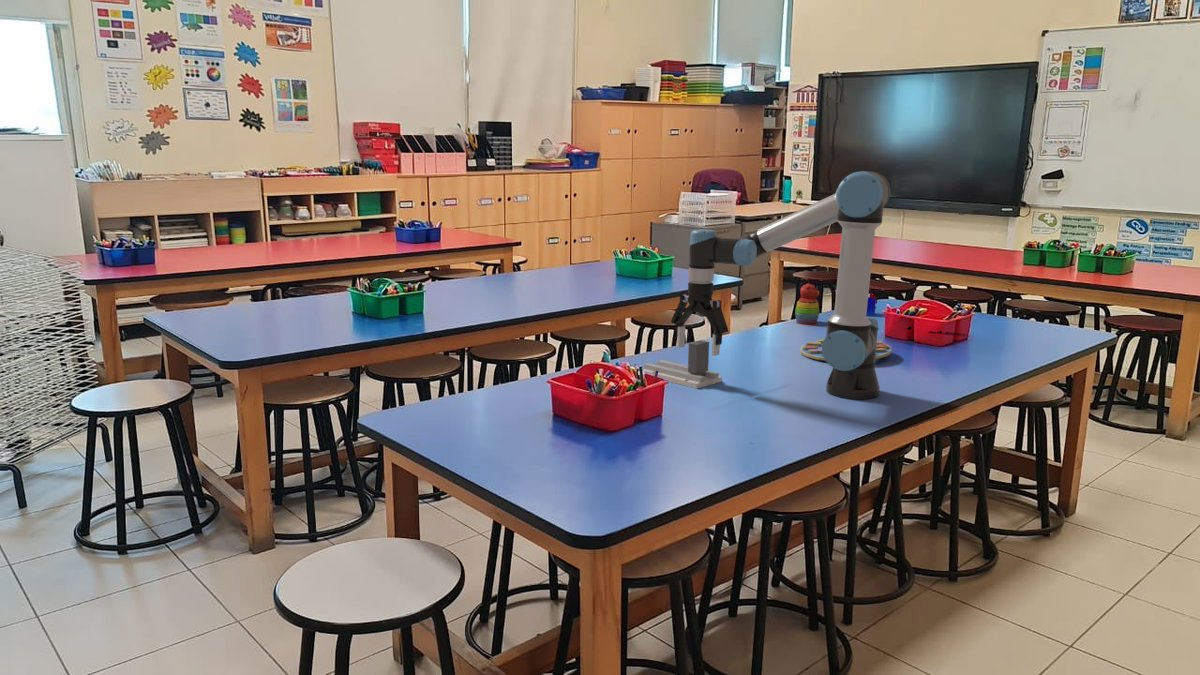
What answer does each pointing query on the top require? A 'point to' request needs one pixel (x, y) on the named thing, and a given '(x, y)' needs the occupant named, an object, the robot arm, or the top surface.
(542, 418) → the top surface
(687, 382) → the panel
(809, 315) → the stacking bear
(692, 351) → the fader
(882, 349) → the shape sorting clock
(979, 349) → the top surface
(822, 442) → the top surface
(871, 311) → the fantasy tower
